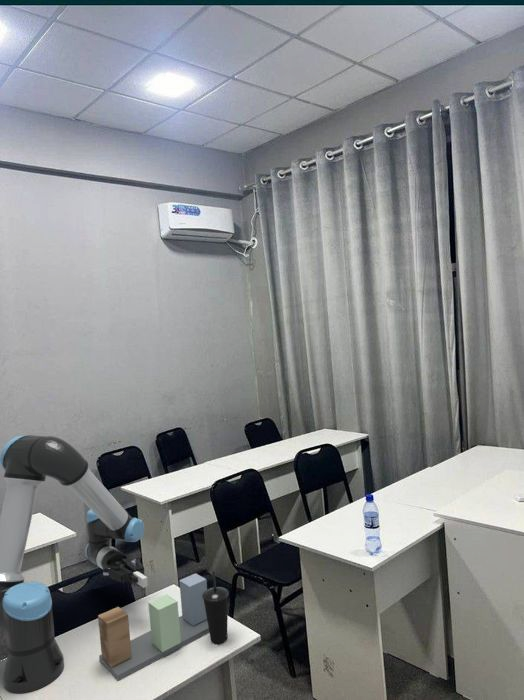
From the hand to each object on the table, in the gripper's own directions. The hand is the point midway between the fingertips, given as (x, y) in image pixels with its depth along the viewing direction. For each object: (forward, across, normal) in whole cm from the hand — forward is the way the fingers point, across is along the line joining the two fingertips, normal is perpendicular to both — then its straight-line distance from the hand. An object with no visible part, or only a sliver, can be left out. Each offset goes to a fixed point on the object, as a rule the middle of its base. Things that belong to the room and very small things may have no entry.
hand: (145, 582), depth 156 cm
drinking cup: (+18, -13, -16) cm, 27 cm away
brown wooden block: (+6, +13, -14) cm, 20 cm away
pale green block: (+11, 0, -14) cm, 18 cm away
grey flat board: (+7, 0, -16) cm, 17 cm away
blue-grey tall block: (+6, -13, -13) cm, 20 cm away
